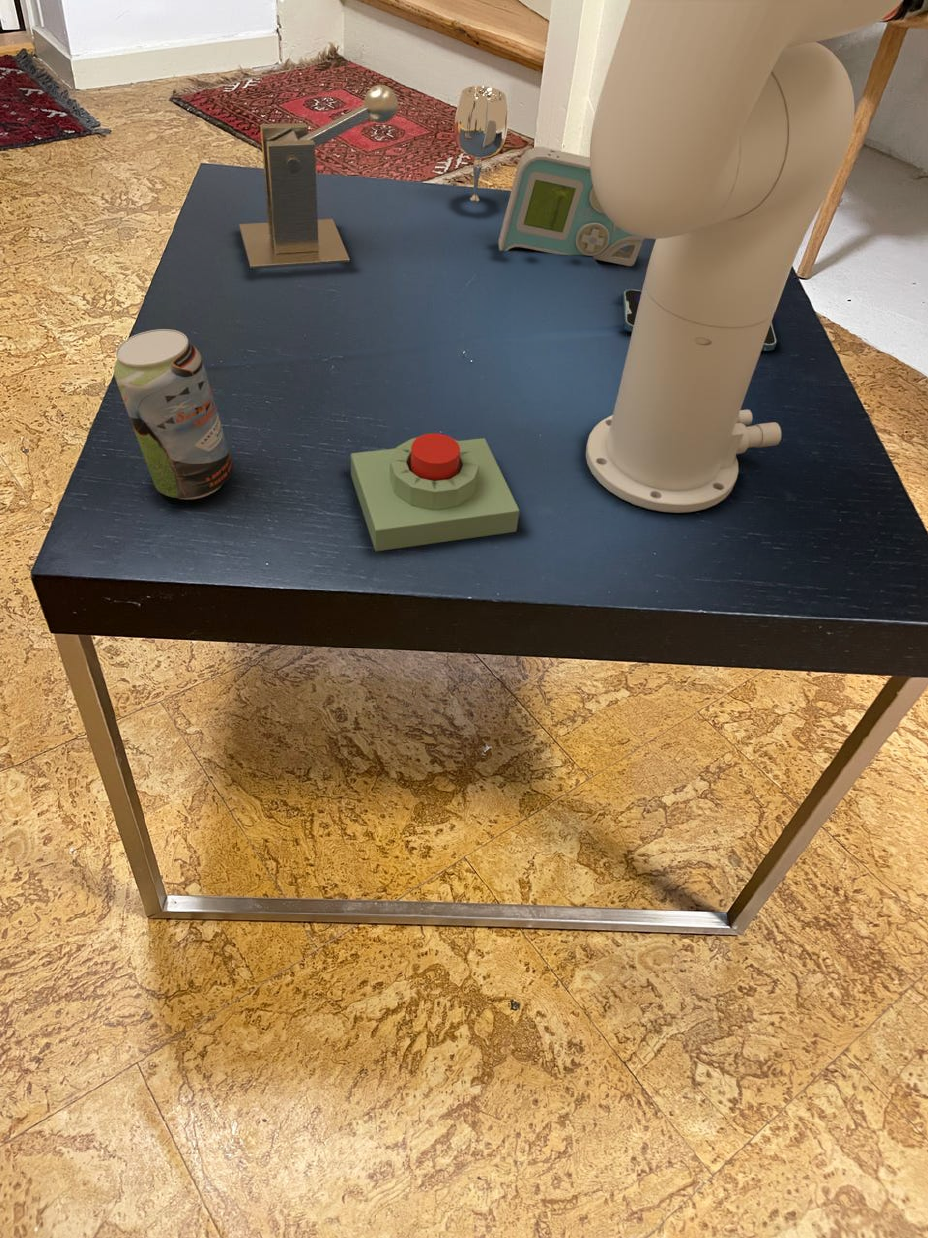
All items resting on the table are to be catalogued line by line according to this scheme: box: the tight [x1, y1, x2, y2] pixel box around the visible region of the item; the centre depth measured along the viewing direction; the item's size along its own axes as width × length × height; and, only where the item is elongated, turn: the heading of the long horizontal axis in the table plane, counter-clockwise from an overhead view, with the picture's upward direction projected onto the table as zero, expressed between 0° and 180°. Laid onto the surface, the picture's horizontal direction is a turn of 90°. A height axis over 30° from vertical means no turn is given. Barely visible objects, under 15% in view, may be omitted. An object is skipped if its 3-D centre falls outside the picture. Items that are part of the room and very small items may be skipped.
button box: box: [350, 436, 520, 552], centre depth 72 cm, size 11×9×4 cm
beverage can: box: [113, 328, 234, 500], centre depth 69 cm, size 6×7×12 cm
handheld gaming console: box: [498, 146, 646, 267], centre depth 99 cm, size 11×3×15 cm
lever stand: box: [238, 122, 351, 270], centre depth 94 cm, size 10×9×12 cm
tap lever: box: [275, 84, 399, 148], centre depth 91 cm, size 13×3×3 cm, turn 106°
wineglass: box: [453, 85, 509, 202], centre depth 105 cm, size 6×6×12 cm
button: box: [411, 432, 460, 481], centre depth 71 cm, size 4×4×2 cm
